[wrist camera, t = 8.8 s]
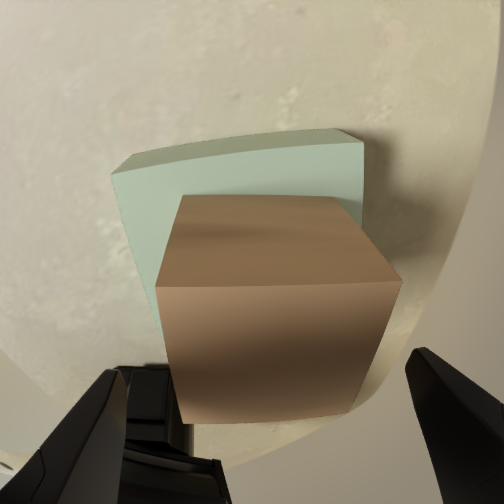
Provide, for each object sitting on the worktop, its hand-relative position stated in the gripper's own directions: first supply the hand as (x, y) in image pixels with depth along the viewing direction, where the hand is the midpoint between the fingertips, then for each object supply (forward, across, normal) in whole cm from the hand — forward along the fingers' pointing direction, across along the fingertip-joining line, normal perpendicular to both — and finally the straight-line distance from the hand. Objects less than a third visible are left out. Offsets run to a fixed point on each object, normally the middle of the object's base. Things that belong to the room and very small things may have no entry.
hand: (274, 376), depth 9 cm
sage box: (+10, 0, 0) cm, 10 cm away
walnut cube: (+6, 0, 0) cm, 6 cm away
